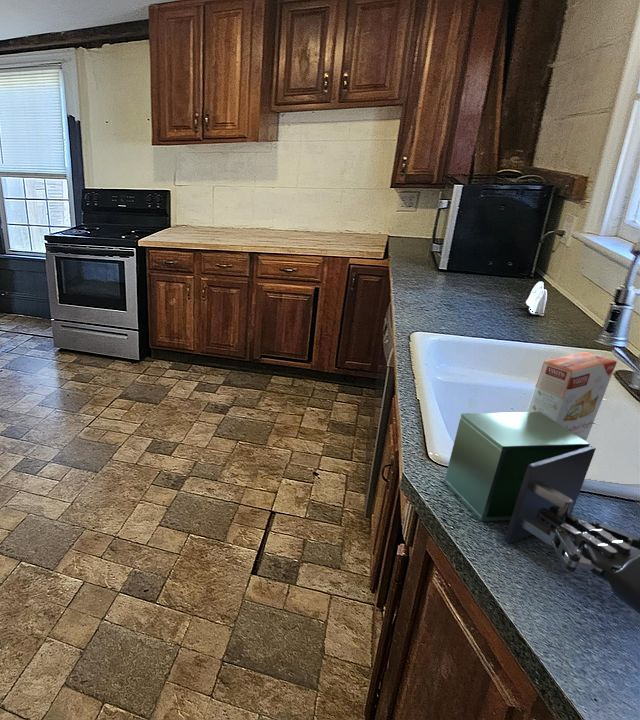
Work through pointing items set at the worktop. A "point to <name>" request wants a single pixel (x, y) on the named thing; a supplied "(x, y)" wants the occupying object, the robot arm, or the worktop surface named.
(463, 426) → the dark green box
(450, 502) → the worktop surface
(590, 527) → the robot arm
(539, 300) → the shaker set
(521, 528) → the door
